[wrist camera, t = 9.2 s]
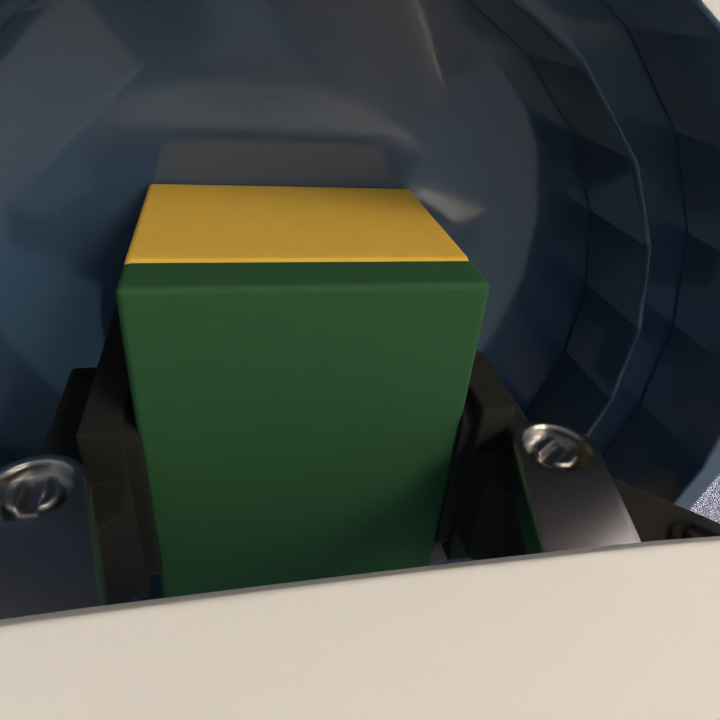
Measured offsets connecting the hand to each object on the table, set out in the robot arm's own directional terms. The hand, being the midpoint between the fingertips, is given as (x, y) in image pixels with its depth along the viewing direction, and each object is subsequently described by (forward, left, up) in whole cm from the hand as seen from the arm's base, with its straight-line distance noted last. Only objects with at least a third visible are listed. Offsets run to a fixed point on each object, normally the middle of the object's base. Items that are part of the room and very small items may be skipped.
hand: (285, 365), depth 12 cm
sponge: (0, 0, 0) cm, 0 cm away
